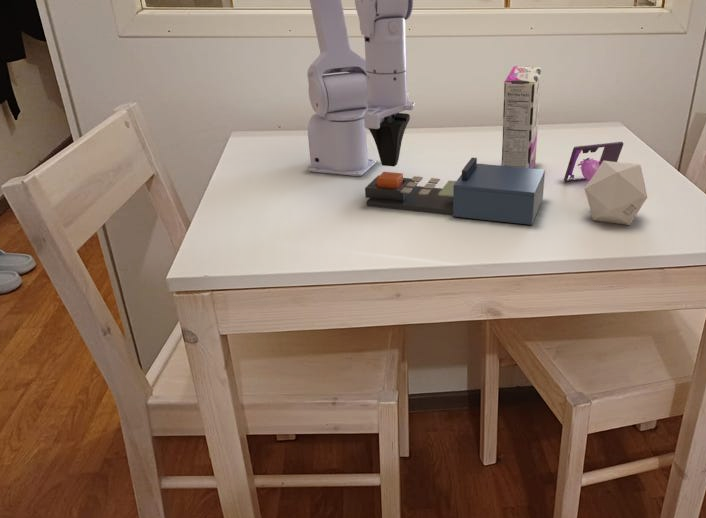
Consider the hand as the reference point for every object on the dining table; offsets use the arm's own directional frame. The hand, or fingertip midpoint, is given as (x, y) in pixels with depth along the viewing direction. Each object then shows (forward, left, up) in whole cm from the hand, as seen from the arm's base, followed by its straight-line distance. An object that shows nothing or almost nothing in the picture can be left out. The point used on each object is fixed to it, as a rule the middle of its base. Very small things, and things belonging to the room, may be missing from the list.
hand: (389, 164), depth 109 cm
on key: (0, 0, -3) cm, 3 cm away
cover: (+17, 0, -5) cm, 18 cm away
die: (+34, +1, -6) cm, 35 cm away
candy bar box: (+17, +17, -6) cm, 25 cm away
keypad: (+7, 0, -3) cm, 7 cm away
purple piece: (+30, +16, -6) cm, 35 cm away
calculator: (+5, 0, -5) cm, 7 cm away
